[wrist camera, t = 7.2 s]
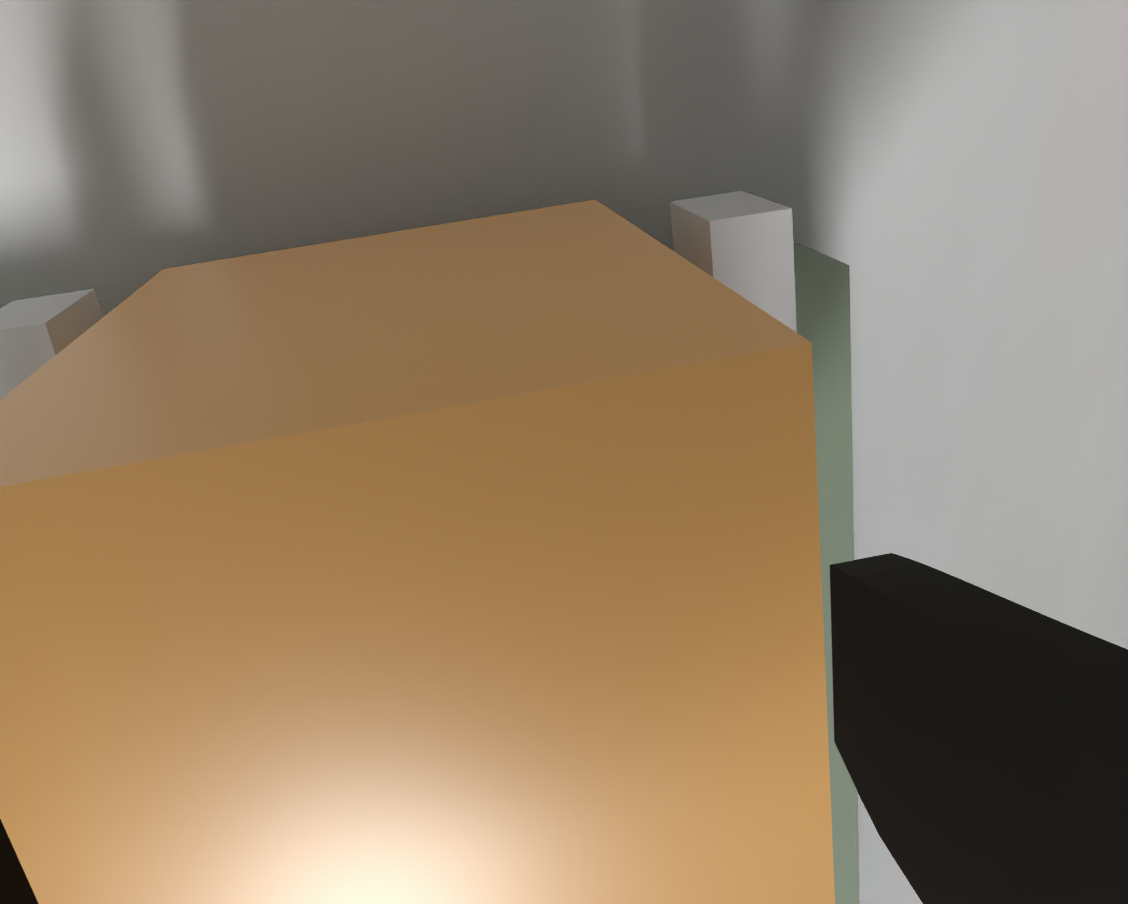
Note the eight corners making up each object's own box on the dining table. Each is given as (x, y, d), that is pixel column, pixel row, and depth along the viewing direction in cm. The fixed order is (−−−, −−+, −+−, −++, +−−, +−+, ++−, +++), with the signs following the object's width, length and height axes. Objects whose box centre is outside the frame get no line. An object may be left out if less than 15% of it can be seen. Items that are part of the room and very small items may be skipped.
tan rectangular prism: (595, 199, 10) (810, 342, 5) (667, 793, 13) (851, 1300, 8) (162, 269, 10) (-139, 509, 4) (337, 865, 13) (287, 1453, 7)
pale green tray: (797, 162, 12) (1002, 210, 8) (823, 938, 17) (959, 1218, 13) (-625, 375, 11) (-1287, 569, 6) (-149, 1158, 15) (-352, 1556, 11)
